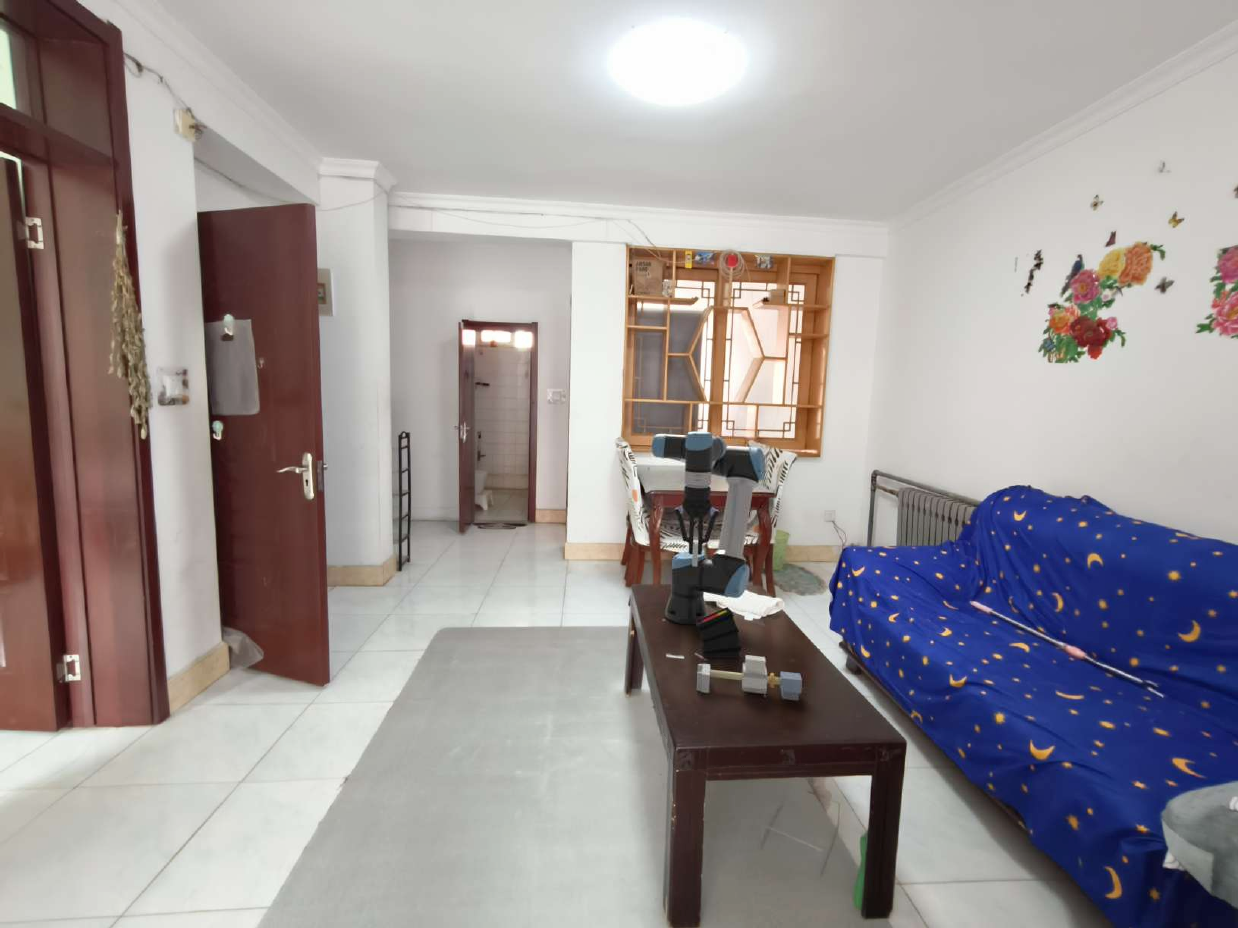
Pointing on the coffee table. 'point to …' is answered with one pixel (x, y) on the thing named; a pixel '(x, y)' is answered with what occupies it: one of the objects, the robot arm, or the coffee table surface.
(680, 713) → the coffee table surface
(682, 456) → the robot arm
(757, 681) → the white stepped block
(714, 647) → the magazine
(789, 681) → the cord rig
